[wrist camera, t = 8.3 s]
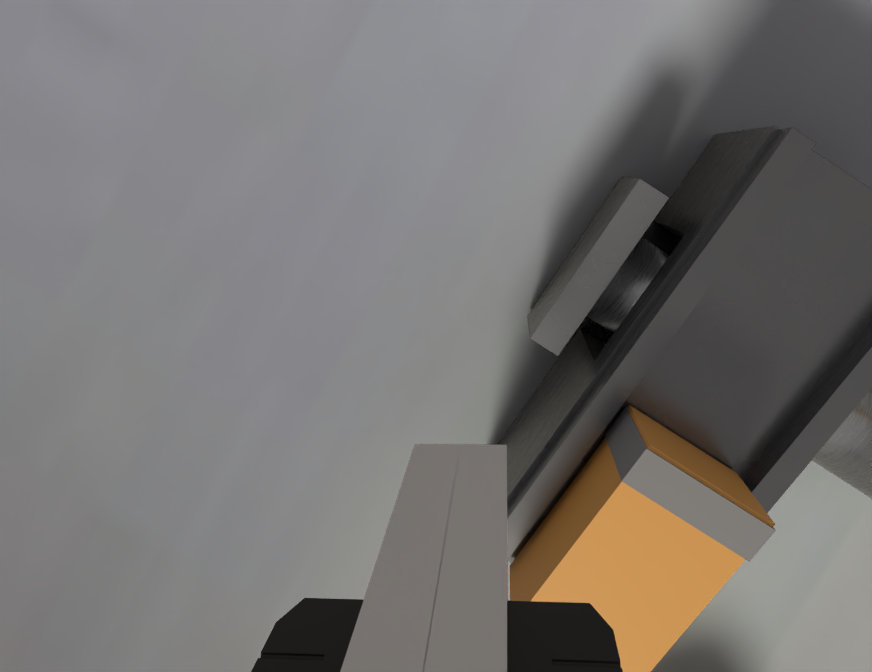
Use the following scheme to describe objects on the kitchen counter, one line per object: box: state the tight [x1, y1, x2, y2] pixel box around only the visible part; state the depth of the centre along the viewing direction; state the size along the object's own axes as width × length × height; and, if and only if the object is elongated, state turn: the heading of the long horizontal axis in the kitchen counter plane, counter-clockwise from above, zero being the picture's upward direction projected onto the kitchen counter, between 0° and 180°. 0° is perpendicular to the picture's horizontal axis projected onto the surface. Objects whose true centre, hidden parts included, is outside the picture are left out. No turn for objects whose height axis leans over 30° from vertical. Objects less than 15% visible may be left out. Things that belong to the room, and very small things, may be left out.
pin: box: [527, 177, 872, 498], centre depth 24 cm, size 13×6×3 cm, turn 58°
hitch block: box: [498, 126, 872, 563], centre depth 23 cm, size 6×14×6 cm, turn 148°
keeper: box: [510, 405, 776, 672], centre depth 20 cm, size 4×6×3 cm, turn 148°
